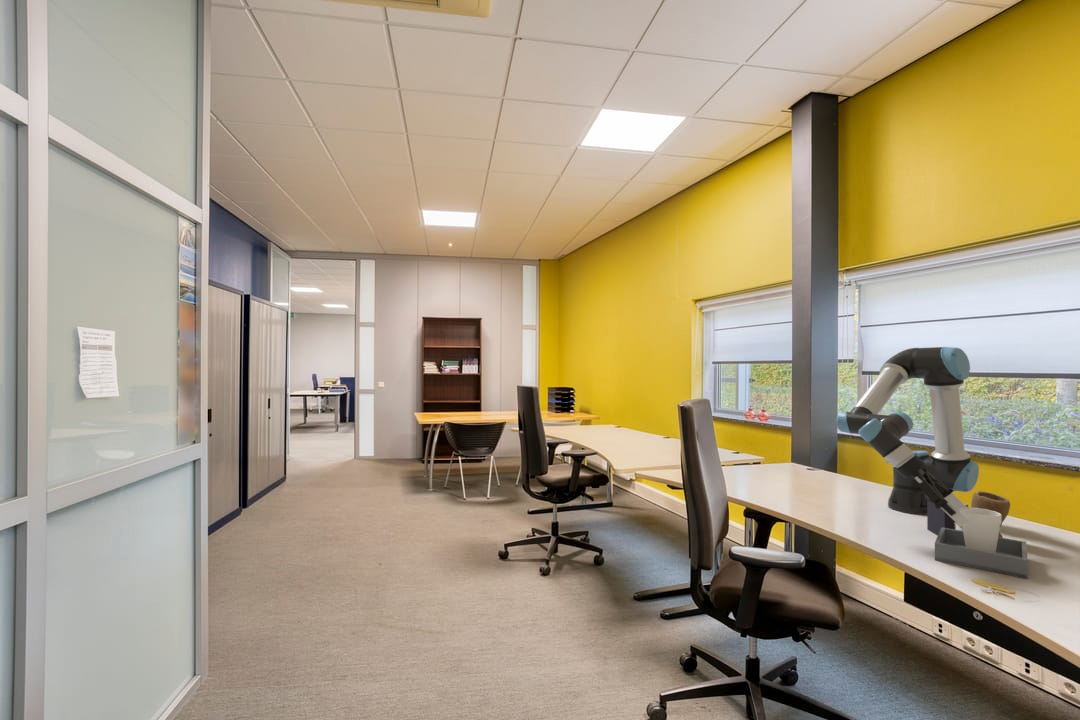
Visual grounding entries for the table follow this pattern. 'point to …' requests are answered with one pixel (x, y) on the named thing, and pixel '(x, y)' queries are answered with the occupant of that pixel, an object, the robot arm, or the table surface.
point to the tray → (983, 554)
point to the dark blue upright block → (937, 518)
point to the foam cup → (981, 528)
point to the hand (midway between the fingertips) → (965, 518)
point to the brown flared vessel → (991, 504)
